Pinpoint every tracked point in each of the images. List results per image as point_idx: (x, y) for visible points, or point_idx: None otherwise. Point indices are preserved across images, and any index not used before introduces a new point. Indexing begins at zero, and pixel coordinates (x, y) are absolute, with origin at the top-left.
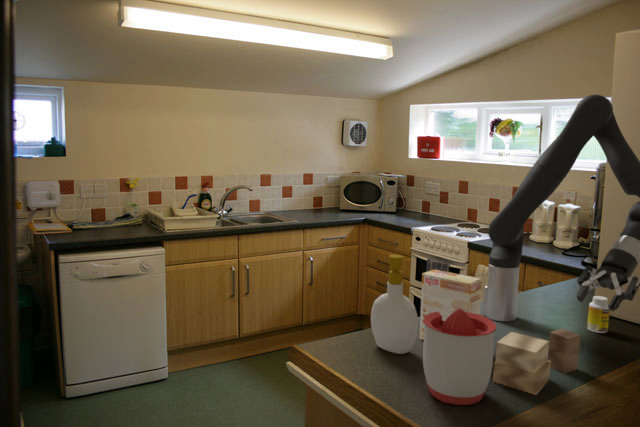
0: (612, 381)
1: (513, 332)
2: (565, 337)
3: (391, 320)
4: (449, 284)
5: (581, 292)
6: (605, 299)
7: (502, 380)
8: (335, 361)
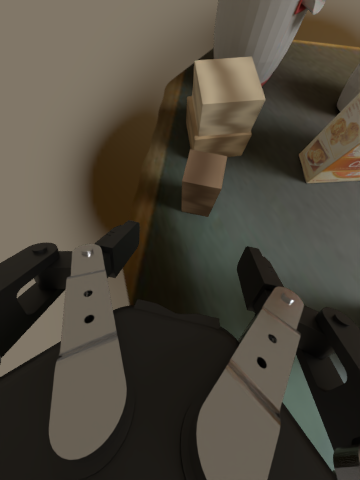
0: (136, 207)
1: (261, 99)
2: (196, 151)
3: None
4: None
5: (258, 259)
6: None
7: None
8: (357, 57)
